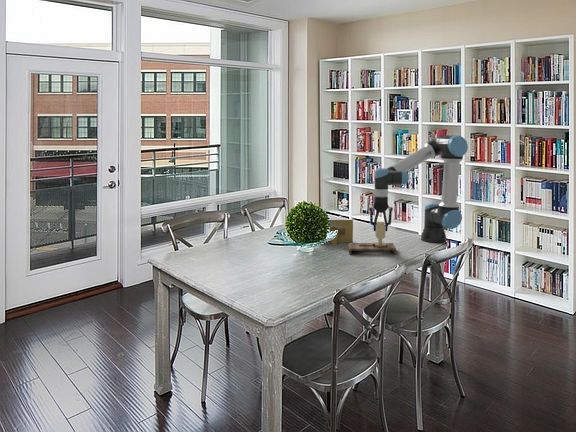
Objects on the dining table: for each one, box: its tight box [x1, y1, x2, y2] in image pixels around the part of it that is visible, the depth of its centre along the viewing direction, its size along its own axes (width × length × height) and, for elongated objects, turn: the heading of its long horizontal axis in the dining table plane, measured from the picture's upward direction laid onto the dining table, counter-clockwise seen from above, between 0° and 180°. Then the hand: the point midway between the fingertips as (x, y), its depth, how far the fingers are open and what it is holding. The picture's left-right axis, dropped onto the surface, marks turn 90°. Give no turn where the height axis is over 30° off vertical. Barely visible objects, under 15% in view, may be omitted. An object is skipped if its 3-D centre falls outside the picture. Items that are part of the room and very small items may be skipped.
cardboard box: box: [329, 219, 354, 246], centre depth 308 cm, size 23×9×15 cm, turn 84°
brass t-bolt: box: [373, 221, 386, 248], centre depth 286 cm, size 6×6×14 cm
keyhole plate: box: [347, 242, 397, 255], centre depth 288 cm, size 26×13×4 cm, turn 86°
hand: (380, 236), depth 287 cm, fingers closed on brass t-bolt, 4 cm apart
